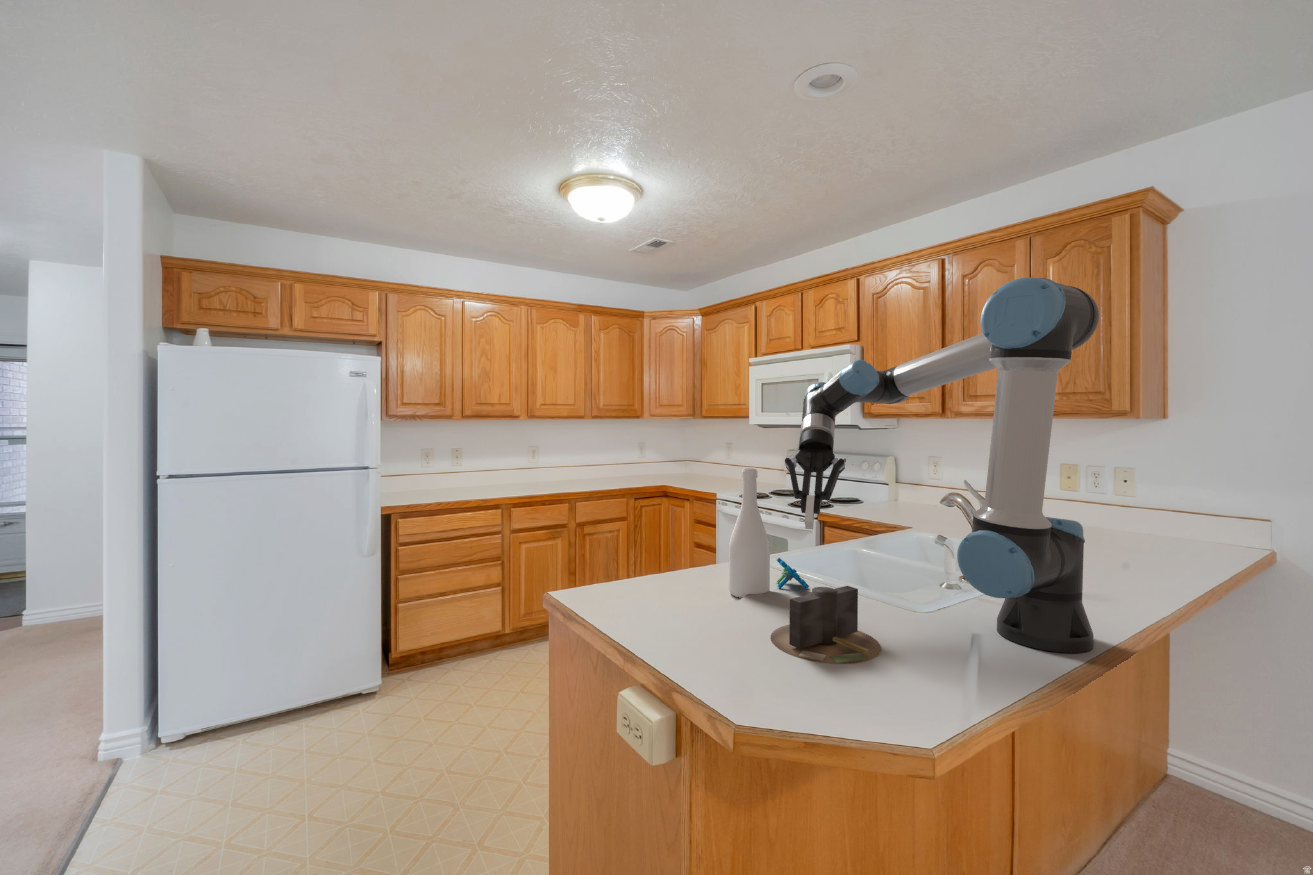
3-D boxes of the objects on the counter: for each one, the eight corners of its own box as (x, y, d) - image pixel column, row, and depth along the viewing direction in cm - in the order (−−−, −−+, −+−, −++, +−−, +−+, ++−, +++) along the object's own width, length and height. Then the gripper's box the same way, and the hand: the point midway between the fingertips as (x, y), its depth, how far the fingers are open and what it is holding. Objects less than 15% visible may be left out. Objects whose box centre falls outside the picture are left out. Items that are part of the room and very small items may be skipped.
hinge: (842, 628, 108) (843, 581, 108) (894, 648, 98) (895, 596, 98) (785, 644, 100) (785, 593, 100) (836, 668, 90) (836, 612, 90)
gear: (815, 587, 134) (784, 557, 135) (798, 606, 134) (767, 575, 135) (804, 581, 145) (776, 553, 146) (788, 598, 145) (760, 569, 146)
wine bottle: (721, 591, 137) (721, 467, 137) (754, 586, 141) (754, 466, 141) (743, 602, 129) (743, 470, 128) (777, 597, 133) (778, 468, 132)
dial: (889, 642, 105) (889, 633, 105) (869, 682, 89) (869, 672, 89) (789, 623, 115) (789, 615, 115) (754, 656, 99) (754, 647, 99)
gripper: (847, 449, 130) (843, 537, 115) (789, 448, 135) (778, 533, 120) (846, 427, 125) (842, 516, 110) (786, 427, 129) (774, 512, 115)
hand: (808, 525), depth 115 cm, fingers closed
